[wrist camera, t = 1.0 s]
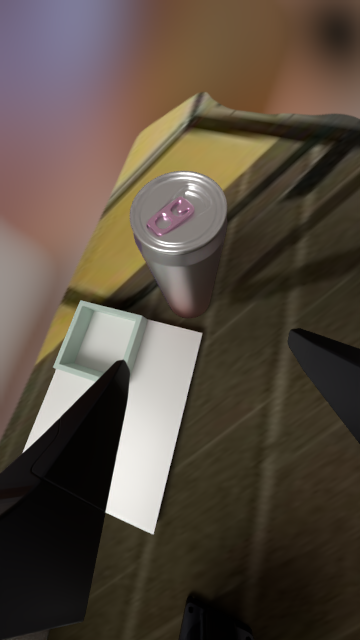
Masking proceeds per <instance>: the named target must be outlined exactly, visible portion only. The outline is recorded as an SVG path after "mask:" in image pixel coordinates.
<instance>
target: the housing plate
mask: <svg viewBox="0 0 360 640" xmlns="http://www.w3.org/2000/svg"><path fill="white" fill-rule="evenodd" d="M201 337H202V333H200V332H196V331H192V330H188V329H184V328H180V327H176V326H172V325H168V324H164V323H160V322H156V321H152V320H148V319H146V318H145V317H143V316H141V315H137V314H133V313H129V312H125V311H121V310H117V309H113V308H109V307H105V306H101V305H97V304H93V303H89V302H85V301H81V300H80V303H79V305H78V308H77V310H76V312H75V315H74V317H73V320H72V322H71V325H70V327H69V330H68V332H67V334H66V337H65V339H64V342H63V344H62V347H61V349H60V352H59V354H58V356H57V359H56V361H55V364H54V366H53V368H56V372H55V374H54V376H53V379H52V381H51V384H50V386H49V389H48V391H47V394H46V396H45V399H44V401H43V404H42V406H41V409H40V411H39V414H38V416H37V419H36V421H35V423H34V426H33V428H32V431H31V433H30V436H29V438H28V441H27V443H26V446H25V448H24V451H26V450H27V449H28V448H29V447H30V446H31V445H32V444H33V443H34V442H35V441H36V440H37V439H38V438H39V437H41V436H42V435H43V434H44V433H45V432H46V431H47V430H48V429H49V428H50V427H51V426H52V425H53V424H54V423H55V422H56V421H57V420H58V419H59V418H60V417H61V416H62V415H63V414H64V413H65V412H66V411H67V410H68V409H69V408H70V407H71V406H72V405H73V404H74V403H75V402H76V401H77V400H78V399H79V398H80V397H81V396H82V395H83V394H84V393H85V392H86V391H87V390H88V389H89V388H90V387H91V386H92V385H93V384H94V383H95V382H96V381H97V380H98V379H99V378H100V377H101V376H102V375H103V374H104V373H105V372H106V371H107V370H108V369H109V368H110V367H111V366H112V365H113V364H114V363H115V362H116V361H118V360H125V361H126V363H127V365H128V367H129V369H130V381H129V393H128V401H127V407H126V412H125V417H124V422H123V427H122V432H121V437H120V442H119V447H118V452H117V457H116V462H115V467H114V472H113V477H112V482H111V487H110V492H109V497H108V502H107V507H106V513H108V514H110V515H112V516H115V517H117V518H119V519H121V520H123V521H125V522H127V523H129V524H132V525H134V526H136V527H138V528H140V529H142V530H144V531H147V532H149V533H151V534H154V530H155V526H156V522H157V518H158V514H159V510H160V505H161V501H162V497H163V493H164V489H165V485H166V481H167V477H168V473H169V468H170V464H171V460H172V456H173V452H174V448H175V444H176V440H177V436H178V432H179V427H180V423H181V419H182V415H183V411H184V407H185V403H186V399H187V395H188V390H189V386H190V382H191V378H192V374H193V370H194V366H195V362H196V358H197V353H198V349H199V345H200V341H201ZM24 451H23V452H24Z"/></svg>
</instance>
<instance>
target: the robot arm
mask: <svg viewBox="0 0 360 640" xmlns="http://www.w3.org/2000/svg"><path fill="white" fill-rule="evenodd" d="M288 346H289V347H290V349H291V351H292V352H293V354H294V356H295V357H296V359H297V360H298V362H299V364H300V365H301V367H302V369H303V370H304V372H305V373H306V374H307V376H308V377H309V378H310V380H311V381H312V382H313V383H314V385H315V386H316V387H317V389H318V390H319V391H320V393H321V394H322V395H323V397H324V398H325V399H326V400H327V402H328V403H329V404H330V406H331V407H332V408H333V410H334V411H335V412H336V414H337V415H338V416H339V417H340V419H341V420H342V421H343V423H344V424H345V425H346V427H347V428H348V429H349V431H350V432H351V433H352V434H353V436H354V437H355V438H356V440H357V441H358V442H359V444H360V349H359V348H356V347H353V346H350V345H347V344H344V343H341V342H338V341H336V340H333V339H330V338H327V337H324V336H321V335H318V334H315V333H312V332H309V331H306V330H304V329H301V328H297V329H292V330H290V332H289V337H288ZM129 381H130V369H129V367H128V365H127V363H126V361H125V360H118V361H116V362H115V363H114V364H113V365H112V366H111V367H110V368H109V369H108V370H107V371H106V372H105V373H104V374H103V375H102V376H101V377H100V378H99V379H98V380H97V381H96V382H95V383H94V384H93V385H92V386H91V387H90V388H89V389H88V390H87V391H86V392H85V393H84V394H83V395H82V396H81V397H80V398H79V399H78V400H77V401H76V402H75V403H74V404H73V405H72V406H71V407H70V408H69V409H68V410H67V411H66V412H65V413H64V414H63V415H62V416H61V417H60V418H59V419H58V420H57V421H56V422H55V423H54V424H53V425H52V426H51V427H50V428H49V429H48V430H47V431H46V432H45V433H44V434H43V435H42V436H41V437H39V438H38V439H37V440H36V441H35V442H34V443H33V444H32V445H31V446H30V447H29V448H28V449H27V450H26V451H24V452H23V453H22V454H21V455H20V456H19V457H18V458H17V459H16V460H14V461H13V462H12V463H11V464H10V465H9V466H8V467H7V468H6V469H5V470H3V471H2V472H1V473H0V640H47V639H48V636H49V632H50V629H53V628H57V627H61V626H66V625H70V624H75V623H79V622H83V620H84V617H85V613H86V608H87V603H88V598H89V593H90V588H91V583H92V578H93V573H94V568H95V563H96V558H97V553H98V548H99V543H100V538H101V533H102V528H103V523H104V518H105V512H106V507H107V502H108V497H109V492H110V487H111V482H112V477H113V472H114V467H115V462H116V457H117V452H118V447H119V442H120V437H121V432H122V427H123V422H124V417H125V412H126V407H127V401H128V393H129ZM190 606H192V607H190ZM247 636H248V637H247ZM179 640H254V638H253V633H252V630H251V628H250V627H249V626H247V625H245V624H243V623H241V622H239V621H237V620H235V619H233V618H231V617H229V616H228V615H226V614H224V613H222V612H220V611H218V610H216V609H214V608H212V607H210V606H208V605H206V604H204V603H202V602H200V601H198V600H196V599H194V598H192V597H189V598H188V599H187V600H186V605H185V610H184V615H183V620H182V625H181V630H180V635H179Z"/></svg>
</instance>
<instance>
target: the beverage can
mask: <svg viewBox="0 0 360 640" xmlns="http://www.w3.org/2000/svg"><path fill="white" fill-rule="evenodd" d="M226 215H227V201H226V197H225V195H224V193H223V191H222V189H221V188H220V186H219V185H218V184H217V183H216V182H215V181H214V180H212V179H211V178H209V177H207V176H205V175H203V174H200V173H197V172H191V171H176V172H171V173H167V174H164V175H161V176H159V177H157V178H155V179H153V180H151V181H150V182H149V183H147V184H146V185H145V186H144V187H143V188H142V189H141V190H140V191H139V192H138V194H137V195H136V197H135V198H134V200H133V203H132V206H131V210H130V223H131V227H132V230H133V232H134V239H135V242H136V244H137V246H138V248H139V250H140V252H141V254H142V256H143V258H144V260H145V261H146V263H147V265H148V267H149V269H150V271H151V273H152V274H153V276H154V278H155V280H156V282H157V284H158V286H159V287H160V289H161V291H162V293H163V295H164V297H165V299H166V300H167V302H168V304H169V306H170V308H171V310H172V311H173V312H174V313H175V314H176V315H178V316H180V317H183V318H195V317H198V316H200V315H201V314H203V313H204V312H205V311H206V309H207V308H208V306H209V303H210V299H211V295H212V291H213V286H214V282H215V278H216V274H217V269H218V265H219V261H220V256H221V252H222V248H223V243H224V239H225V235H226V230H227V216H226Z"/></svg>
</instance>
